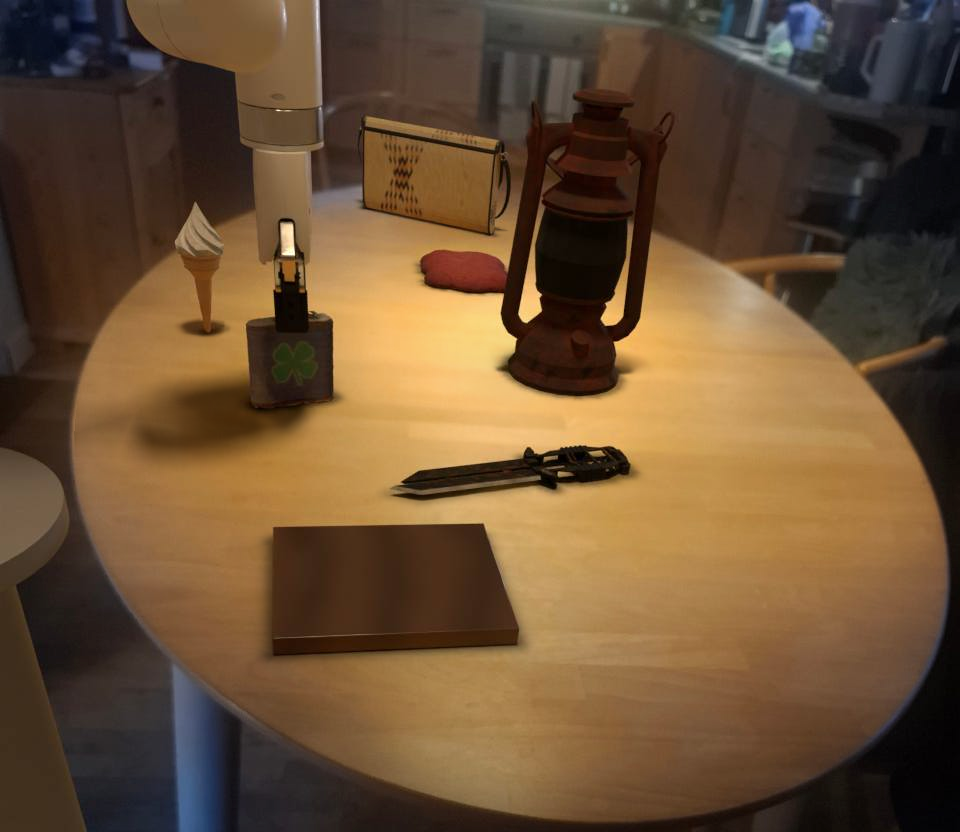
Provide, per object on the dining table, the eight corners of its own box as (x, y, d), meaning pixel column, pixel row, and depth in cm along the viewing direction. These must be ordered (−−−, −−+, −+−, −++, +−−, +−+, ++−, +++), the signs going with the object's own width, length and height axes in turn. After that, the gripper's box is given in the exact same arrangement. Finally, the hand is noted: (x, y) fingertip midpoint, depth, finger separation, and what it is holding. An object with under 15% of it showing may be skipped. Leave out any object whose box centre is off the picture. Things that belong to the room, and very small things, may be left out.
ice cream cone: (176, 328, 110) (160, 197, 101) (217, 321, 114) (205, 193, 104) (199, 343, 107) (184, 209, 98) (240, 335, 111) (230, 204, 101)
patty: (519, 295, 133) (520, 281, 131) (427, 291, 130) (427, 277, 129) (499, 260, 146) (501, 247, 145) (415, 256, 144) (416, 243, 142)
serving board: (273, 654, 64) (272, 638, 63) (273, 541, 75) (272, 526, 74) (517, 644, 67) (519, 628, 66) (482, 537, 79) (483, 523, 78)
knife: (394, 503, 82) (394, 489, 81) (378, 470, 87) (378, 457, 86) (638, 482, 89) (641, 470, 89) (611, 452, 94) (614, 440, 93)
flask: (254, 410, 94) (247, 308, 88) (247, 399, 96) (239, 299, 90) (337, 401, 98) (336, 302, 92) (328, 390, 100) (326, 293, 94)
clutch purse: (512, 230, 162) (521, 137, 152) (497, 238, 156) (506, 142, 147) (369, 200, 170) (370, 110, 160) (350, 207, 164) (350, 114, 155)
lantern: (505, 394, 103) (539, 96, 85) (484, 350, 114) (510, 76, 95) (646, 396, 107) (708, 109, 88) (612, 352, 117) (661, 88, 99)
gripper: (241, 106, 87) (255, 285, 97) (235, 143, 74) (252, 346, 84) (319, 110, 88) (325, 287, 99) (327, 148, 75) (332, 346, 86)
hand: (291, 314), depth 92 cm, fingers open, 9 cm apart
